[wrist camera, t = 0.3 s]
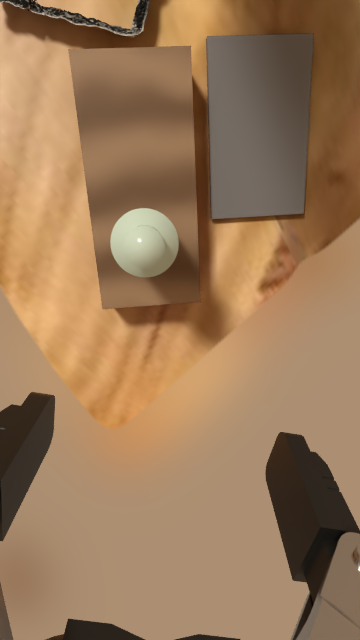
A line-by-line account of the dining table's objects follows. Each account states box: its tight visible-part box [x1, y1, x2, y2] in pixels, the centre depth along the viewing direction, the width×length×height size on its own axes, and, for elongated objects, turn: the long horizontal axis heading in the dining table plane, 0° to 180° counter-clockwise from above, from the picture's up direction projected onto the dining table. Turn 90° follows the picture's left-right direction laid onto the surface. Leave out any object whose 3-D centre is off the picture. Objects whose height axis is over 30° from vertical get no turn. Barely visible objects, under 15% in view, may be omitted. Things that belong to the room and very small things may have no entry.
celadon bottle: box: [110, 208, 179, 277], centre depth 27 cm, size 5×5×12 cm
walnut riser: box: [69, 46, 200, 309], centre depth 33 cm, size 22×10×4 cm, turn 3°
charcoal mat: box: [206, 34, 314, 219], centre depth 34 cm, size 16×10×1 cm, turn 3°
